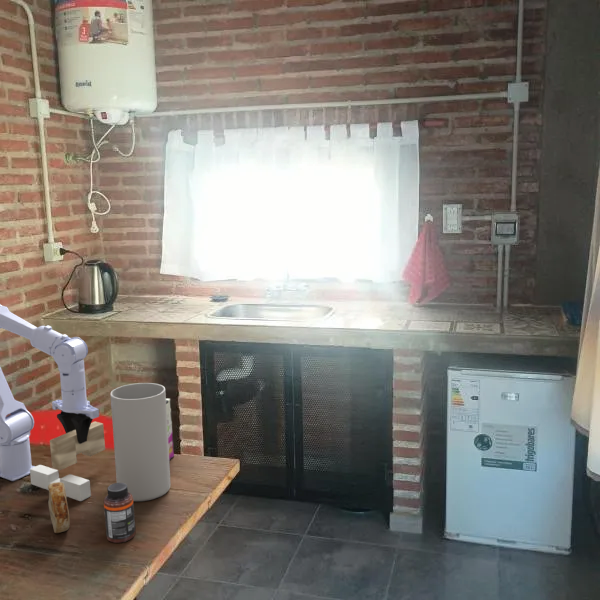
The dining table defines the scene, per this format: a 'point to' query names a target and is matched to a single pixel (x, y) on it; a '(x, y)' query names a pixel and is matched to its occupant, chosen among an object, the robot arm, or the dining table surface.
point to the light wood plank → (76, 446)
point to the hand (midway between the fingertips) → (77, 440)
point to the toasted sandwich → (58, 507)
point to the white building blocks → (73, 484)
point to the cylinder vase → (141, 439)
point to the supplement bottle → (119, 513)
